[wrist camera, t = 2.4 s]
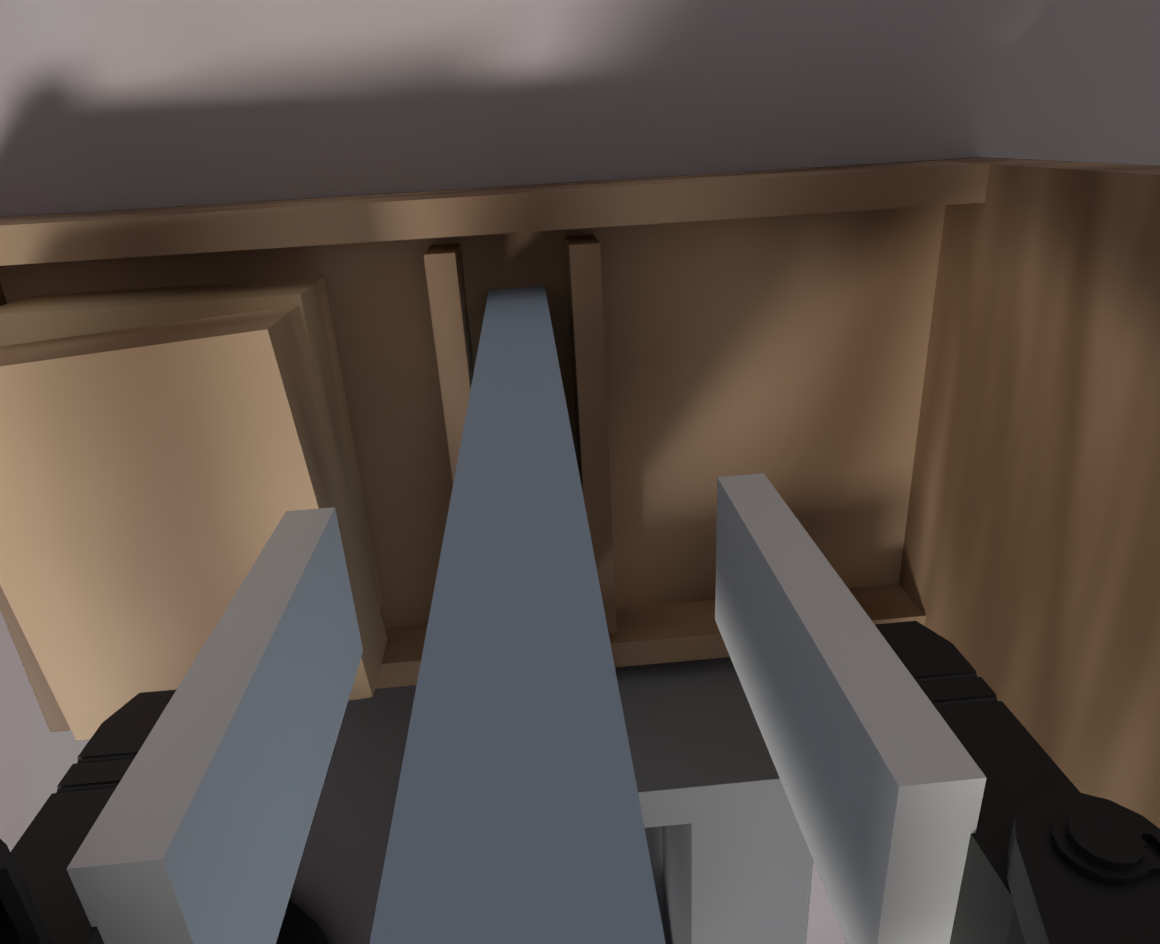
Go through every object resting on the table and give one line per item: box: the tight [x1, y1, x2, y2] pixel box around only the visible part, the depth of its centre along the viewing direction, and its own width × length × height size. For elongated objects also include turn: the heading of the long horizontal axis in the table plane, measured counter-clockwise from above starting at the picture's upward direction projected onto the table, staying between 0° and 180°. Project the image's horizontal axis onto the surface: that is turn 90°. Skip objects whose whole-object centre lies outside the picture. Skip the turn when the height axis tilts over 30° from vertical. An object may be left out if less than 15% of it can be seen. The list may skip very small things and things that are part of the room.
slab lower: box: [0, 277, 382, 609], centre depth 17 cm, size 6×8×2 cm
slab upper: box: [0, 305, 388, 741], centre depth 15 cm, size 6×8×2 cm
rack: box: [0, 157, 1160, 829], centre depth 13 cm, size 22×11×13 cm, turn 93°
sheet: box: [369, 286, 666, 944], centre depth 11 cm, size 1×7×16 cm, turn 3°
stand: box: [615, 657, 813, 944], centre depth 21 cm, size 8×11×6 cm
